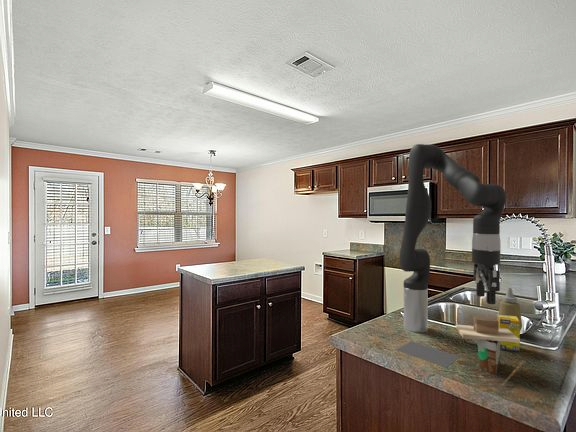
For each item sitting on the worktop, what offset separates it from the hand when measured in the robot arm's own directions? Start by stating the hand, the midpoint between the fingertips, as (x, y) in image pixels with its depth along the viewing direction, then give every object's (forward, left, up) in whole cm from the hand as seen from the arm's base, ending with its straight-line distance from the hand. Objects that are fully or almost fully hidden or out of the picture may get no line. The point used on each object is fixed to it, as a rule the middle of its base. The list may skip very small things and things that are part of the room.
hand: (485, 299), depth 98 cm
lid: (0, 0, -11) cm, 11 cm away
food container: (0, 0, -21) cm, 21 cm away
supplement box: (-17, +13, -21) cm, 30 cm away
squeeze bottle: (-33, +20, -21) cm, 44 cm away
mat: (-5, -16, -21) cm, 27 cm away
